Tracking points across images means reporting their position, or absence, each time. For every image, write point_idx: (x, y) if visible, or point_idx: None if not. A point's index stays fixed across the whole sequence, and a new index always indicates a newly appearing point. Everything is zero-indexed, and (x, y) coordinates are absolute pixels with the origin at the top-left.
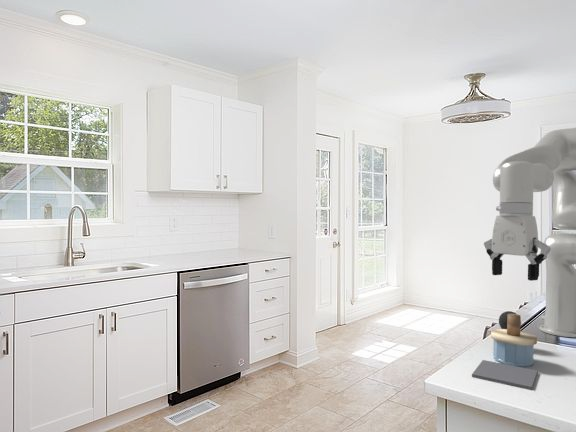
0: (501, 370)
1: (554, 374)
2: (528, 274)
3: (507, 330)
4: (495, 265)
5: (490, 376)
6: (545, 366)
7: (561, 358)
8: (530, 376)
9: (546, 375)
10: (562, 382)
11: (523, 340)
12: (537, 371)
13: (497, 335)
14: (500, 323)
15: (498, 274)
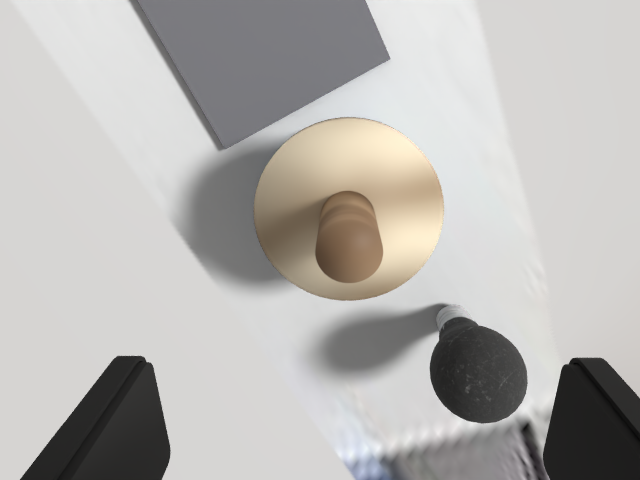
0: (276, 17)
1: (200, 189)
2: (107, 393)
3: (364, 200)
4: (638, 464)
5: None
6: None
7: (290, 348)
8: (191, 65)
9: (202, 156)
10: (141, 143)
11: (266, 171)
12: (225, 147)
13: (372, 131)
14: (496, 333)
15: (553, 413)
